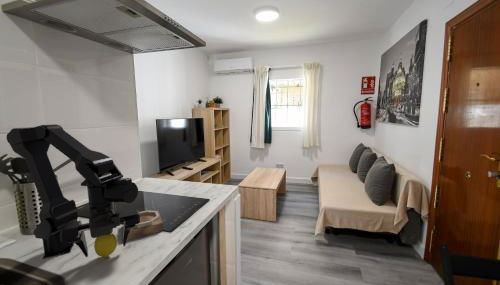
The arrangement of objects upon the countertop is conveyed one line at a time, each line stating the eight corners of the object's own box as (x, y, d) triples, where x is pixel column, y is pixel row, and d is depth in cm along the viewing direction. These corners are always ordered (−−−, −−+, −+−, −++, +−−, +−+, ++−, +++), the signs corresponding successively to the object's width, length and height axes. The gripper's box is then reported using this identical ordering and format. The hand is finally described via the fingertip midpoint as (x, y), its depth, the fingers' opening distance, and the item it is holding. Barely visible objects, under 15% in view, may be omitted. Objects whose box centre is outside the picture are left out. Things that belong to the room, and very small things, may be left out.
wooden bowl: (125, 240, 73) (124, 228, 72) (124, 225, 83) (124, 214, 83) (163, 230, 79) (162, 219, 78) (158, 217, 89) (157, 207, 89)
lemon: (113, 248, 68) (111, 224, 67) (120, 255, 65) (118, 230, 64) (93, 257, 64) (90, 232, 63) (99, 265, 60) (96, 238, 60)
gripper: (50, 219, 51) (58, 281, 52) (139, 202, 60) (143, 254, 62) (61, 203, 60) (67, 256, 62) (136, 191, 70) (140, 236, 72)
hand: (106, 250), depth 64 cm, fingers open, 9 cm apart
